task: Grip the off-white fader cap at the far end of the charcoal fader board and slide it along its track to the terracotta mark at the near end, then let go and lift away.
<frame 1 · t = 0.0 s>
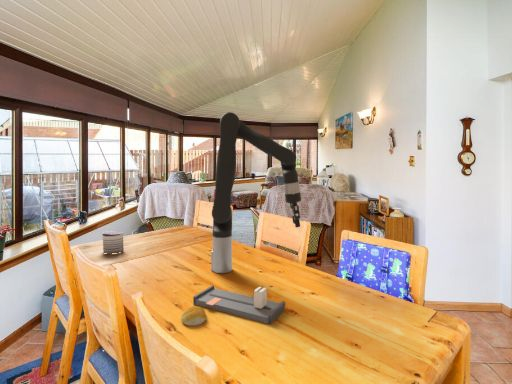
hand: (296, 225, 156), 22 cm above the table, fingers open, 8 cm apart
fader board: (238, 306, 119), on the table
can: (113, 252, 188), on the table
fader cap: (260, 297, 114), point 5 cm above the table, slide at 9.0 cm
bread roll: (194, 320, 110), on the table
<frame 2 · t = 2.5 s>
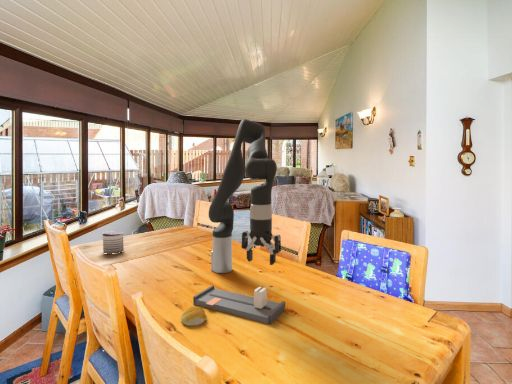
hand: (260, 262, 113), 18 cm above the table, fingers open, 8 cm apart
nothing on the table moved.
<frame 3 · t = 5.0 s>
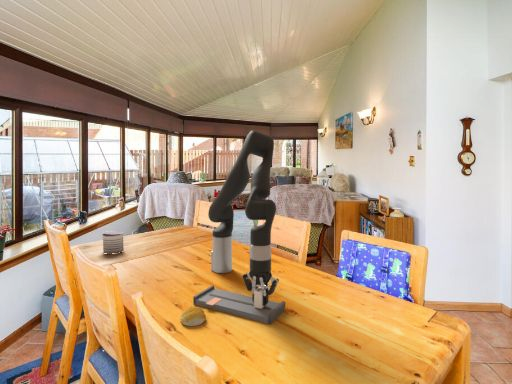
hand: (260, 303, 115), 3 cm above the table, fingers closed on fader cap, 3 cm apart
fader cap: (260, 297, 114), point 5 cm above the table, slide at 9.0 cm, touching gripper
everything else where it was.
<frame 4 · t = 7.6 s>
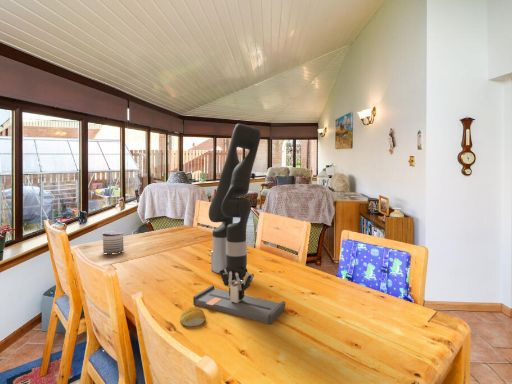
hand: (236, 298, 119), 3 cm above the table, fingers closed on fader cap, 3 cm apart
fader cap: (236, 292, 119), point 5 cm above the table, slide at -0.8 cm, touching gripper
everything else where it was.
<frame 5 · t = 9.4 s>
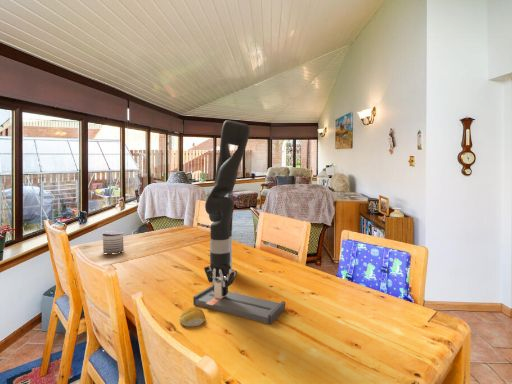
hand: (220, 294, 122), 3 cm above the table, fingers closed on fader cap, 3 cm apart
fader cap: (220, 288, 122), point 5 cm above the table, slide at -7.9 cm, touching gripper
everything else where it was.
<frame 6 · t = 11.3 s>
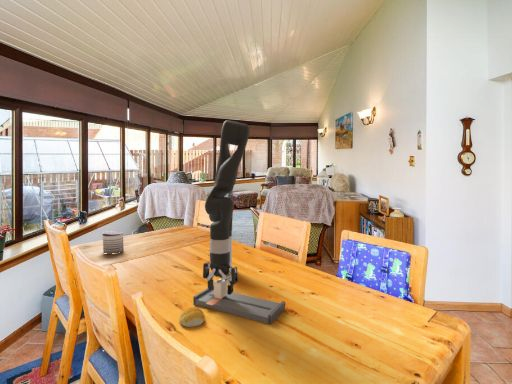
hand: (220, 291, 122), 4 cm above the table, fingers open, 8 cm apart
fader cap: (220, 288, 122), point 5 cm above the table, slide at -7.9 cm
everything else where it was.
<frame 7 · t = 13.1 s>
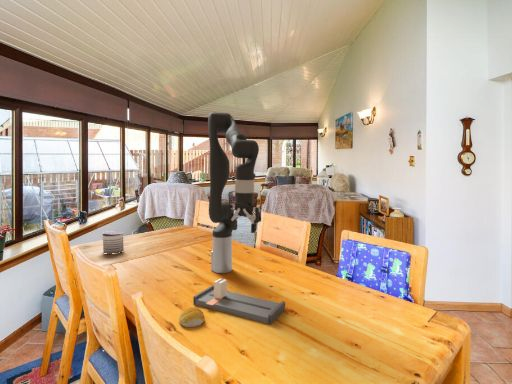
hand: (243, 231, 130), 25 cm above the table, fingers open, 8 cm apart
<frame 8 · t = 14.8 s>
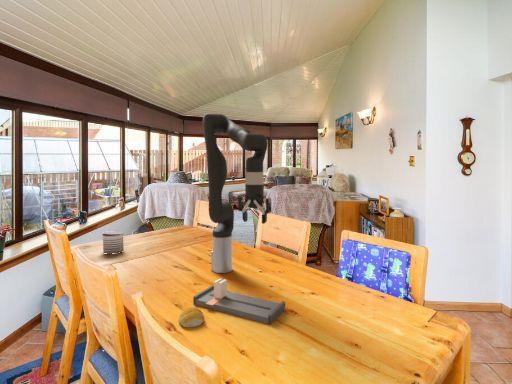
hand: (254, 222, 133), 28 cm above the table, fingers open, 8 cm apart
at the end: fader cap slide at -7.9 cm; the gripper is holding nothing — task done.
